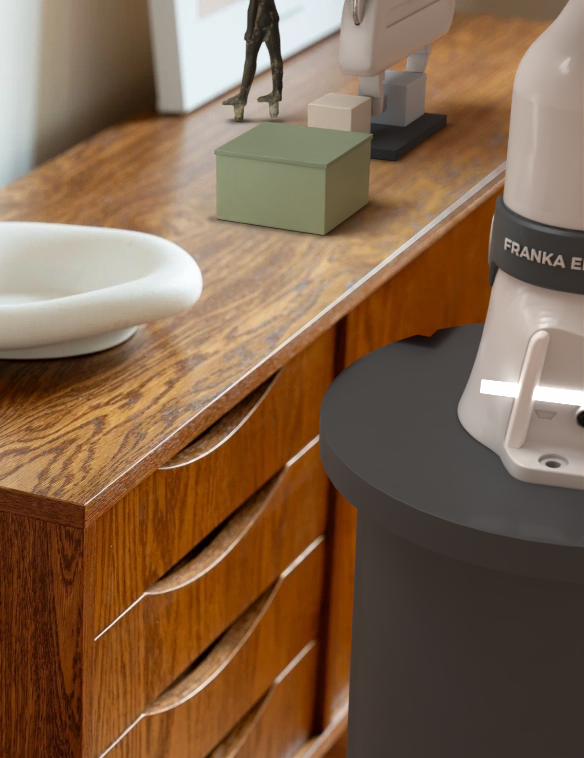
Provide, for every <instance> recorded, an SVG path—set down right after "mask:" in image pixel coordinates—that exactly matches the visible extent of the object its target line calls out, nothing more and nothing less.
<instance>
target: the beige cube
mask: <svg viewBox="0 0 584 758" xmlns="http://www.w3.org/2000/svg"><path fill="white" fill-rule="evenodd" d="M371 102H372V97H365V96H358V95H354V94H346V93H336V92H327V93H325V94H324V95H322V96H320V97H318V98H316V99H314V100H313V101H311V102H309V103H307V126H308V127H316V128H325V129H334V130H342V131H351V132H360V133H369V134H370V125H371Z"/></svg>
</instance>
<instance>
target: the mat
mask: <svg viewBox="0 0 584 758" xmlns="http://www.w3.org/2000/svg"><path fill="white" fill-rule="evenodd" d="M447 122H448V115H447V114H442V113H441V114H440V113H432V112H424V114H423V115H422V116H420V117H419V118H417V119H416V120H414V121H413V122H411V123H410V124H408V125H407V126H406V127H401V126H392V125H383V124H374V123H371V125H370V134H373V139H371V153H370V159H378V160H385V161H391V162H392V161H394V162H396V161H398V160H399V159H401V157H403V156H405V155H406V154H407V153H409V152H410V151H412V150H413V149H415V148H416V147H417V146H419V145H421V144H422V143H423V142H424V141H426V140H427V139H429V138H430V137H432V136H433V135H434V134H435V133H437V132H438V131H440V130H441V129H443V128H444V127H446V126H447Z"/></svg>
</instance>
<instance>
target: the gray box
mask: <svg viewBox="0 0 584 758" xmlns="http://www.w3.org/2000/svg"><path fill="white" fill-rule="evenodd" d="M382 82H383V90H384V94H386V95H387V103H386V105H387V109H386V111H385V112H384V113H382V114H381V115H379V116H371V123H374V124H383V125H392V126H401V127H406V126H407V125H408V124H410V123H411V122H413V121H414V120H416V119H417V118H419V117H420V116H422V115H423V114H424V113H425V107H426V90H427V73H426V72H425V73H414V72H405V71H401V70H391V69H386V70H385V79H384V80H382ZM357 94H358V95H357V96H363V94H362V91H361V87H360V84H359V83H358V93H357Z"/></svg>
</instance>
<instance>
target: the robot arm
mask: <svg viewBox="0 0 584 758" xmlns="http://www.w3.org/2000/svg"><path fill="white" fill-rule="evenodd" d="M456 1H457V0H344V1H343V6H342V12H341V19H340V20H341V21H340V29H339V40H338V52H337V53H338V54H337V64H338V67H339V70H340V72H341V74H342V75H344V76H350V77H351V76H352V77H358V85H359V84H360V87H361V91H362V94H363V96H365V97H372V102H371V116H379V115H381V114H382V113H384V112H385V111H386V109H387V105H386V103H387V95H386V94H384V90H383V82H382V80H384V79H385V70H389V68H391V67H393V66H394V65H396V64H398V63H400V62H402V61H403V60H405V59H406V65H405V69H404V70H405V71H404V72H414V73H425V74H426V70H427V67H428V64H429V61H430V57H431V55H432V46H433V44H432V43H434V42H435V41H437V40H439V39H440V38H442V37H444V36H446V35H448V33H449V31H450V29H451V26H452V23H453V20H454V17H455V16H454V15H455V10H456V9H455V8H456ZM510 106H511V107H510V116H509V127H508V128H509V129H508V139H507V141H508V142H507V151H506V152H507V153H506V165H505V173H504V174H505V175H504V186H503V193H501V194H499V195H498V196H497V197H496V200H495V204H494V205H495V206H494V211H493V212H494V213H493V216H492V218H491V219H492V220H491V225H490V232H489V240H488V253H487V254H488V255H487V257H488V258H487V264H488V267H489V268H488V284H489V287H491V290H490V291H491V292H490V297H489V302H488V308H487V312H486V316H485V322H484V323H485V325H484V330H483V334H482V338H481V342H480V345H479V349H478V353H477V356H476V360H475V363H474V366H473V369H472V372H471V375H470V377H469V380H468V383H467V385H466V388H465V390H464V392H463V395H462V397H461V399H460V401H459V404H458V409H457V412H458V417H459V420H460V422H461V424H462V426H463V427H464V428H465V430H466V431H467V432H468V433H469V434H470V435H471V436H472V437H473V438H475V439H476V440H477V441H479V442H480V443H481V444H483V445H484V446H486V447H487V448H489V449H490V450H492V451H493V452H495V453H496V454H497V455H498V456H499V457H500V459H501V461H502V463H503V465H504V466H505V468H506V470H507V471H508V472H509V474H510V475H511V476H512V477H514V478H515V479H517V480H520V481H522V482H526V483H532V484H540V485H547V486H555V487H562V488H570V489H578V490H584V0H568V1H567V3H566V4H565V6H564V7H563V8H562V10H561V12H560V13H559V14H558V16H557V17H556V18H555V19H554V21H553V22H552V23H551V24H550V25H549V26H548V27H547V28H546V29H545V30H544V31H543V32H542V33H541V34H540V35H539V36H538V37H537V38H536V39H535V40H534V41H533V42H532V43H531V45H530V46H529V47H528V48H527V50H526V51H525V53H524V54H523V56H522V57H521V60H520V61H519V64H518V66H517V68H516V71H515V75H514V79H513V84H512V95H511V105H510Z"/></svg>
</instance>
